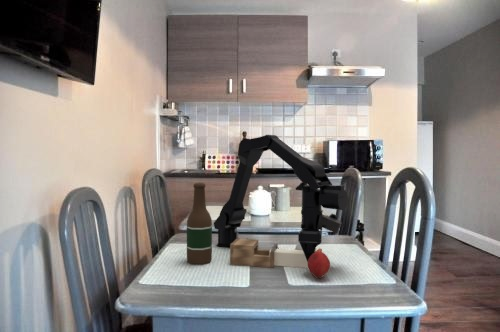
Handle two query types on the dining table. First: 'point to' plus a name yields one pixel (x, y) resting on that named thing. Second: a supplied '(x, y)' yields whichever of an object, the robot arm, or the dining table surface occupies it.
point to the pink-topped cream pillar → (290, 258)
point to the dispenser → (250, 253)
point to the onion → (318, 263)
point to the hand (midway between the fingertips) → (310, 259)
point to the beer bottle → (199, 229)
